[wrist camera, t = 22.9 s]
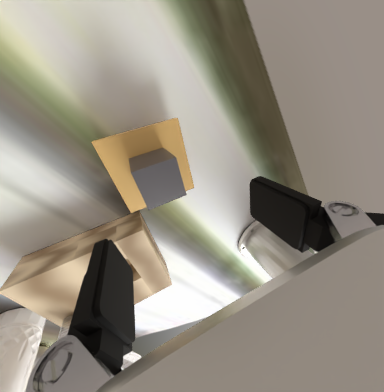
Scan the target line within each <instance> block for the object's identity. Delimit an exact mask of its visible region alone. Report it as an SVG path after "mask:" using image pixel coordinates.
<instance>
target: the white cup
mask: <svg viewBox="0 0 384 392" xmlns="http://www.w3.org/2000/svg"><path fill="white" fill-rule="evenodd" d="M45 323H46V318H44V317H42V316H40V315H38V314H37V313H35V312H33V311H31V310H29V309H27V308H18V309H13V310H9V311H6V312H4V313H2V314H0V392H25V390H26V387H27V383H28V379H29V377H30V374H31V371H32V368H33V365H34V362H35V358H36V355H37V352H38V349H39V344H40V341H41V338H42V332H43V329H44V326H45Z"/></svg>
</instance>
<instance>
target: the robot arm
mask: <svg viewBox="0 0 384 392" xmlns="http://www.w3.org/2000/svg"><path fill="white" fill-rule="evenodd" d="M321 203H322V201H319V200H317V199H315V198H312V197H310V196H307V195H305V194H302V193H300V192H298V191H295V190H293V189H290V188H288V187H286V186H283V185H281V184H278V183H276V182H274V181H271V180H269V179H266V178H264V177H261V176H259V177H256V178H254V179H252V180H251V182H250V213H251V215H252V217H253V218H254V219H256V221H255V222H253V223H252V224H251V225H250V226H249V227H248V228H247V229H246V230H245V231H244V233H243V234H242V236H241V238H240V241H239V245H238V248H239V251H240V252H241V254H242V255H243V256H245V257H253V258H254V259H255V260H256V261H257V262H258V263H259V264H260V265H261V266H262V268H263V269H264V270H265V271H266V272H267V273H268V274H269V275H270V276H271V277H272V278H273V279H271V280H270V281H268V282H266V283H265V284H263V285H261V286H260V287H258V288H256V289H254V290H253V291H251V292H249V293H248V294H246V295H244V296H243V297H241V298H239V299H238V300H236V301H234V302H233V303H231V304H229V305H227V306H226V307H224V308H222V309H221V310H219V311H217V312H216V313H214V314H212V315H211V316H209V317H207V318H206V319H204V320H202V321H201V322H199V323H197V324H196V325H194V326H192V327H191V328H189V329H187V330H186V331H184V332H182V333H181V334H179V335H177V336H176V337H174V338H172V339H171V340H169V341H168V342H166V343H164V344H163V345H161V346H160V347H158V348H156V349H155V350H153V351H152V352H150V353H148V354H147V355H145V356H144V357H142V358H140V359H139V360H137V361H135V362H134V363H133V364H131V365H130V366H128V367H127V368H125V369H124V368H123V367H122V365H123V356H125V355H126V354H128V353H130V352H132V342H134V340H135V315H134V286H133V271H132V268H131V267H130V265H129V264H128V262H127V261H126V259H125V258H124V257H123V255H122V254H121V252H120V251H119V249H118V248H117V247H116V245H115V244H114V242H113V241H112V240H108V239H104V240H101V241H99V242H96V243H95V244H94V247H93V250H92V254H91V257H90V261H89V265H88V268H87V272H86V274H85V275H84V278H83V281H82V285H81V288H80V292H79V295H78V299H77V302H76V306H75V309H74V313H73V316H72V320H71V323H70V327H69V330H68V334H67V336H65V337H62V338H60V339H59V340H57V341H56V342H55V343H53V344H52V345H51V346H50V347H49V348H48V349H47V350H46V351H45V352H44V354H43V355H42V356H41V357H40V359H39V360H38V362H37V363H36V365H35V367H34V368H33V370H32V372H31V375H30V377H29V379H28V383H27V387H26V392H384V214H380V213H365V212H364V211H363V210H362V209H361V208H359V207H358V206H356V205H353V204H351V203H347V202H343V201H332V202H328V203H326V204H325V206H324V207H321ZM310 247H311V248H312V249H313V250H314V253H315V254H312V253H311V252H309V251H308V250H309V248H310Z"/></svg>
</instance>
